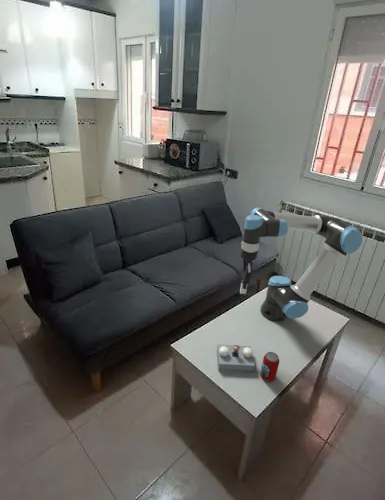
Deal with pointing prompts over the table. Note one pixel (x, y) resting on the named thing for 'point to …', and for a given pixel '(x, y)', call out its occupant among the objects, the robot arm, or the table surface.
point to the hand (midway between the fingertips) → (242, 292)
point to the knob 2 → (247, 352)
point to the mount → (235, 360)
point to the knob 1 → (223, 351)
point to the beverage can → (269, 366)
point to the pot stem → (236, 349)
